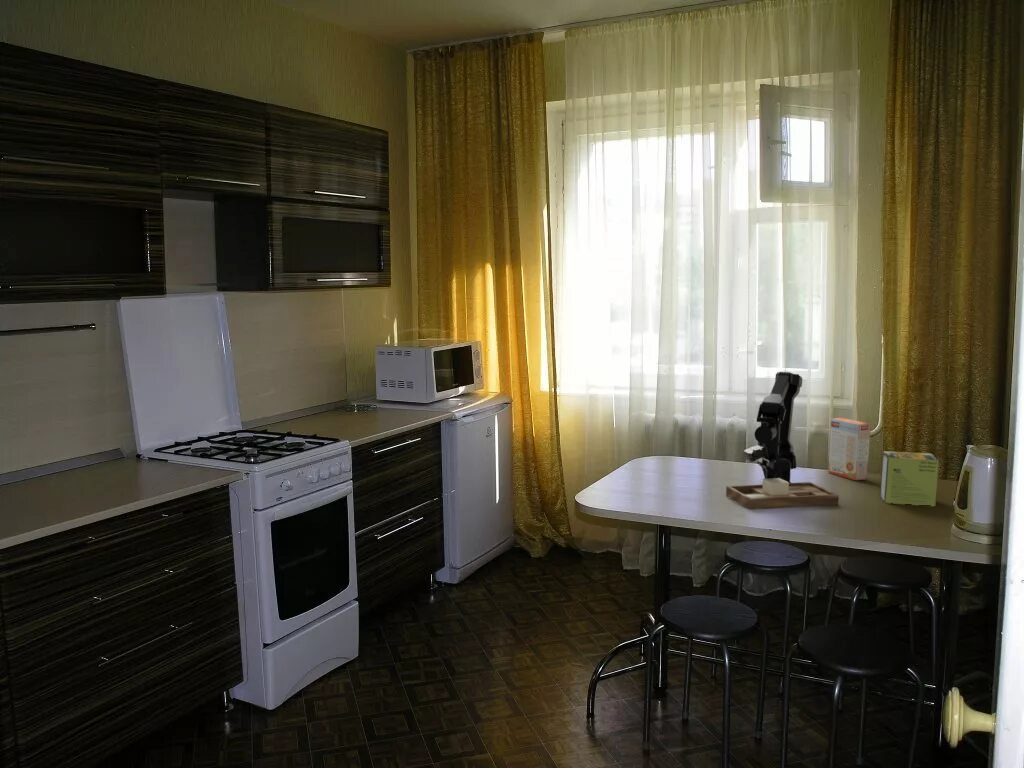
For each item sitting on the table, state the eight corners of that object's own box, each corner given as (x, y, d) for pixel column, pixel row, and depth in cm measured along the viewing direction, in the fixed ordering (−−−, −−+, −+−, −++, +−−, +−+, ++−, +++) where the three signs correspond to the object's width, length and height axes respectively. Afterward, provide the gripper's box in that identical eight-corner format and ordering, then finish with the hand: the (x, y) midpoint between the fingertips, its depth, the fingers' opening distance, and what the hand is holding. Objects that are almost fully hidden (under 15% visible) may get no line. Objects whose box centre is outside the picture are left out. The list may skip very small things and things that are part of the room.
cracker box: (868, 480, 312) (871, 423, 309) (855, 481, 310) (858, 424, 307) (840, 471, 325) (843, 416, 322) (827, 472, 323) (830, 417, 320)
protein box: (936, 506, 278) (939, 459, 276) (884, 503, 281) (888, 457, 279) (928, 498, 288) (931, 453, 286) (879, 495, 291) (882, 450, 289)
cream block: (762, 490, 286) (762, 478, 286) (778, 489, 288) (779, 478, 287) (771, 495, 281) (772, 483, 280) (788, 494, 282) (788, 482, 281)
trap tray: (726, 495, 289) (726, 485, 289) (810, 491, 296) (810, 482, 295) (749, 509, 273) (750, 499, 272) (838, 504, 279) (838, 495, 279)
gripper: (735, 433, 294) (733, 478, 296) (761, 444, 276) (758, 492, 278) (765, 432, 296) (763, 477, 298) (793, 443, 278) (790, 490, 280)
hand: (768, 484), depth 288 cm, fingers closed
